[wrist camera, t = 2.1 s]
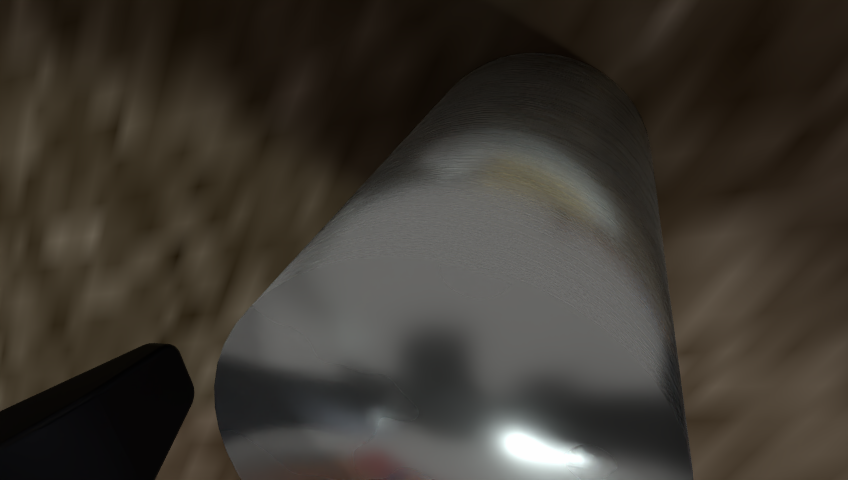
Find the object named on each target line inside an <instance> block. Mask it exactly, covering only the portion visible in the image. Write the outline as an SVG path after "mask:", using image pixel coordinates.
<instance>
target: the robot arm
mask: <svg viewBox="0 0 848 480" xmlns="http://www.w3.org/2000/svg"><path fill="white" fill-rule="evenodd" d="M193 399H194V386H193V383H192V381H191V378H190V376H189V374H188V371H187V369H186V366H185V364H184V362H183V359H182V357H181V354H180V352H179V350H178V349H177V348H176V347H175V346H173V345H171V344H159V343H149V344H145V345H143V346H141V347H138V348H136V349H134V350H132V351H130V352H128V353H125V354H123V355H121V356H119V357H117V358H115V359H112V360H110V361H108V362H106V363H104V364H102V365H99V366H97V367H95V368H93V369H91V370H89V371H86V372H84V373H82V374H80V375H78V376H76V377H73V378H71V379H69V380H67V381H65V382H63V383H60V384H58V385H56V386H54V387H52V388H50V389H47V390H45V391H43V392H41V393H39V394H37V395H34V396H32V397H30V398H28V399H26V400H24V401H21V402H19V403H17V404H15V405H13V406H11V407H8V408H6V409H4V410H2V411H0V480H155V478H156V476H157V474H158V472H159V470H160V468H161V466H162V464H163V462H164V460H165V458H166V456H167V454H168V452H169V450H170V448H171V446H172V444H173V442H174V440H175V438H176V436H177V434H178V431H179V429H180V427H181V425H182V423H183V421H184V419H185V417H186V415H187V413H188V411H189V409H190V407H191V405H192V402H193Z"/></svg>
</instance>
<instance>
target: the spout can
mask: <svg viewBox="0 0 848 480" xmlns="http://www.w3.org/2000/svg"><path fill="white" fill-rule="evenodd" d="M214 390H215V410H216V415H217V421H218V426H219V430H220V433H221V436H222V439H223V442H224V445H225V448H226V451H227V453H228V455H229V457H230V459H231V461H232V463H233V465H234V467H235V469H236V471H237V473H238V474H239V476H240V478H241V479H242V480H693V471H692V463H691V455H690V447H689V440H688V432H687V424H686V417H685V409H684V401H683V394H682V386H681V378H680V371H679V363H678V355H677V347H676V340H675V332H674V324H673V317H672V309H671V301H670V294H669V286H668V278H667V271H666V263H665V255H664V247H663V240H662V232H661V224H660V217H659V209H658V201H657V194H656V186H655V178H654V171H653V163H652V155H651V147H650V143H649V138H648V134H647V130H646V128H645V125H644V123H643V120H642V118H641V116H640V114H639V112H638V111H637V109H636V107H635V105H634V104H633V102H632V101H631V100H630V99H629V97H628V96H627V95H626V93H625V92H624V91H623V90H622V89H621V88H620V87H619V86H618V85H617V84H616V83H615V82H614V81H613V80H611V79H610V78H608V77H607V76H606V75H604V74H603V73H601V72H600V71H598V70H597V69H595V68H593V67H591V66H589V65H587V64H585V63H583V62H580V61H577V60H574V59H572V58H569V57H564V56H559V55H555V54H545V53H524V54H517V55H511V56H506V57H503V58H500V59H497V60H493V61H491V62H488V63H486V64H484V65H482V66H480V67H478V68H476V69H475V70H473V71H472V72H470V73H469V74H467V75H466V76H464V77H463V78H462V79H461V80H460V81H459V82H457V83H456V84H455V85H454V86H453V87H452V88H451V89H450V90H449V91H448V92H447V93H446V95H445V96H444V97H443V98H442V99H441V100H440V101H439V102H438V103H437V104H436V105H435V107H434V108H433V109H432V110H431V111H430V112H429V113H428V114H427V115H426V116H425V117H424V119H423V120H422V121H421V122H420V123H419V124H418V125H417V126H416V127H415V128H414V129H413V131H412V132H411V133H410V134H409V135H408V136H407V137H406V138H405V139H404V140H403V141H402V142H401V144H400V145H399V146H398V147H397V148H396V149H395V150H394V151H393V152H392V153H391V154H390V156H389V157H388V158H387V159H386V160H385V161H384V162H383V163H382V164H381V165H380V166H379V168H378V169H377V170H376V171H375V172H374V173H373V174H372V175H371V176H370V177H369V178H368V179H367V181H366V182H365V183H364V184H363V185H362V186H361V187H360V188H359V189H358V190H357V191H356V193H355V194H354V195H353V196H352V197H351V198H350V199H349V200H348V201H347V202H346V203H345V205H344V206H343V207H342V208H341V209H340V210H339V211H338V212H337V213H336V214H335V215H334V216H333V218H332V219H331V220H330V221H329V222H328V223H327V224H326V225H325V226H324V227H323V228H322V230H321V231H320V232H319V233H318V234H317V235H316V236H315V237H314V238H313V239H312V240H311V242H310V243H309V244H308V245H307V246H306V247H305V248H304V249H303V250H302V251H301V252H300V253H299V255H298V256H297V257H296V258H295V259H294V260H293V261H292V262H291V263H290V264H289V265H288V267H287V268H286V269H285V270H284V271H283V272H282V273H281V274H280V275H279V276H278V277H277V279H276V280H275V281H274V282H273V283H272V284H271V285H270V286H269V287H268V288H267V289H266V290H265V292H264V293H263V294H262V295H261V296H260V297H259V298H258V299H257V300H256V301H255V302H254V304H253V305H252V306H251V307H250V308H249V309H248V310H247V311H246V313H245V314H244V315H243V316H242V317H241V319H240V320H239V321H238V322H237V323H236V325H235V326H234V328H233V330H232V331H231V333H230V335H229V337H228V338H227V340H226V342H225V344H224V346H223V349H222V352H221V355H220V358H219V361H218V364H217V371H216V378H215V385H214Z"/></svg>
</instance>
